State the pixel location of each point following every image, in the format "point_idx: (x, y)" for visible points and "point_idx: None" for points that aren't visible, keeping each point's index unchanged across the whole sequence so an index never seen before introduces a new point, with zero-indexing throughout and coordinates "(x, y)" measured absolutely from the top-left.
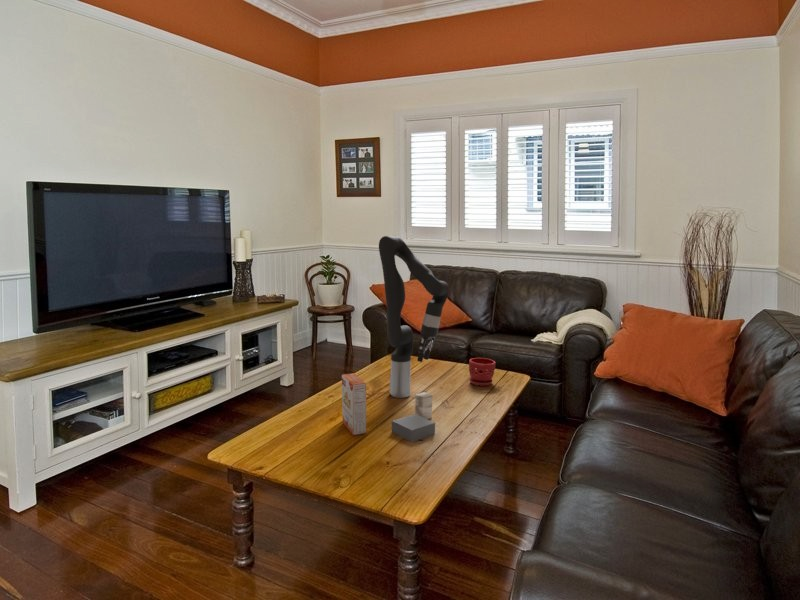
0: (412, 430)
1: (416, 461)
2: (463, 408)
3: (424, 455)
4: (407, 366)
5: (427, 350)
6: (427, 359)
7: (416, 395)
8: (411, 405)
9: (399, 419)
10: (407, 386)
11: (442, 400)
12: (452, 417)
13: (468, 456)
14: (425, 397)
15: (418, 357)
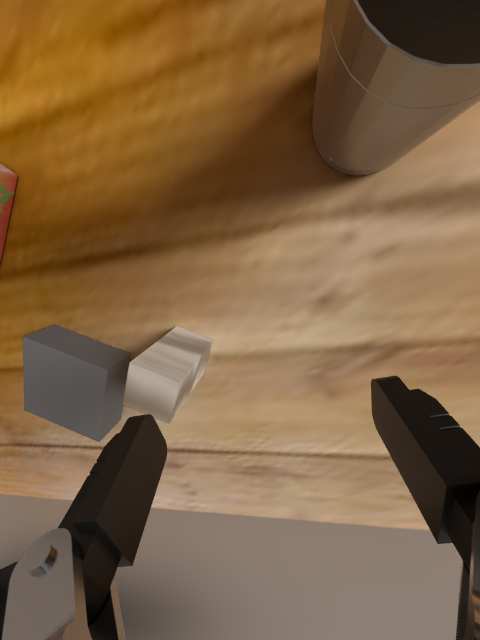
0: (28, 410)
1: (7, 432)
2: (340, 428)
3: (33, 436)
4: (408, 99)
5: (464, 536)
6: (375, 420)
7: (130, 366)
8: (262, 256)
9: (44, 350)
10: (360, 160)
11: (389, 335)
12: (244, 422)
13: None
14: (135, 408)
15: (95, 466)
